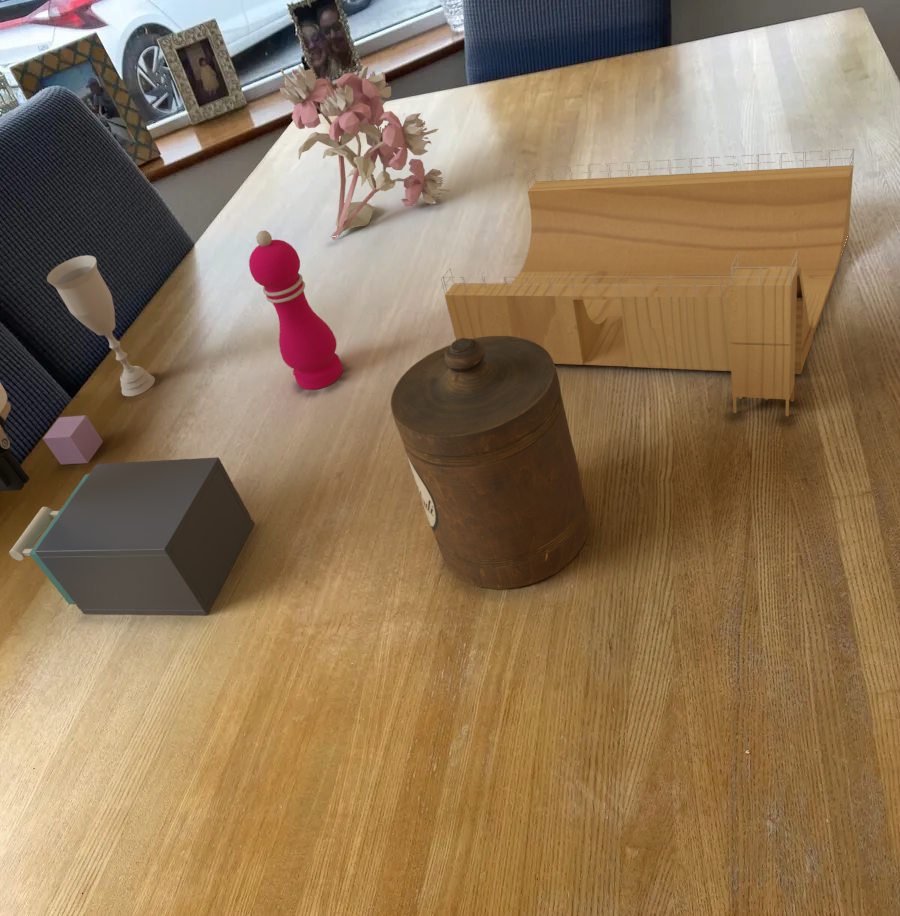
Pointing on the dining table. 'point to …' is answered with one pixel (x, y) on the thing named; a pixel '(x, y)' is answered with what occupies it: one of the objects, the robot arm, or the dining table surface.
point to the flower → (354, 115)
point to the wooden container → (493, 459)
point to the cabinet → (148, 538)
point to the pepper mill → (295, 314)
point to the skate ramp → (675, 272)
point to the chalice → (96, 312)
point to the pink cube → (73, 440)
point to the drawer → (32, 535)
